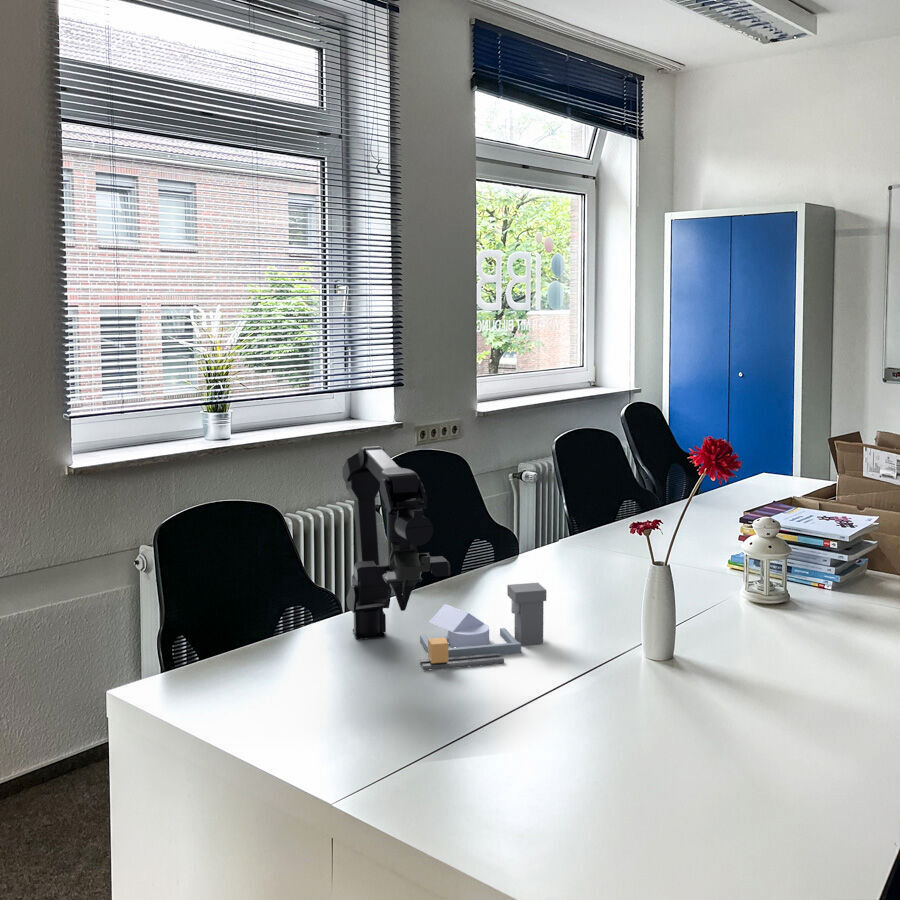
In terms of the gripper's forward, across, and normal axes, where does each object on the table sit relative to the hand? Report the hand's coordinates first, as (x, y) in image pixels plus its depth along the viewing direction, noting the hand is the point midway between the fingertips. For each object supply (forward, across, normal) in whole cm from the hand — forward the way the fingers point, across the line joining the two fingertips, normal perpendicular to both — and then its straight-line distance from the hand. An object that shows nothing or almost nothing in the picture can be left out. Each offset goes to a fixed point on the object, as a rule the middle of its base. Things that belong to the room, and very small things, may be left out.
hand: (402, 610), depth 201 cm
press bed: (+12, +20, +9) cm, 25 cm away
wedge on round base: (+13, +16, +14) cm, 25 cm away
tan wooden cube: (+12, +7, 0) cm, 14 cm away
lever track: (+12, +12, 0) cm, 17 cm away
